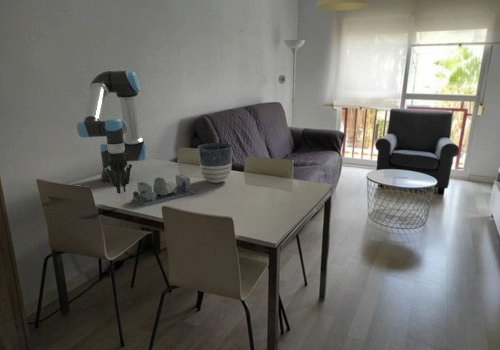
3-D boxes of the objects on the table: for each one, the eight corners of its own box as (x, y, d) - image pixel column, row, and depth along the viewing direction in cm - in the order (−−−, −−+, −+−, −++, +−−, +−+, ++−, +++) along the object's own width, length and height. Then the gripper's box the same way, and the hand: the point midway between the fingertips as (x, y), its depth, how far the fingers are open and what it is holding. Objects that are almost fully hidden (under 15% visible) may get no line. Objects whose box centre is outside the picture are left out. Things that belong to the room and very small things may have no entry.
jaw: (129, 198, 189) (128, 184, 187) (144, 194, 194) (142, 180, 191) (138, 203, 181) (136, 188, 179) (152, 199, 186) (151, 185, 184)
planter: (193, 184, 215) (191, 148, 209) (209, 175, 232) (208, 142, 226) (224, 188, 208) (222, 150, 202) (238, 178, 225) (237, 144, 219)
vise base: (132, 199, 192) (131, 182, 190) (180, 187, 209) (179, 172, 207) (144, 206, 182) (142, 189, 179) (193, 193, 199) (192, 177, 196)
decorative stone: (158, 198, 188) (169, 182, 187) (146, 187, 193) (156, 171, 193) (173, 203, 199) (184, 188, 198) (162, 192, 204) (172, 177, 204)
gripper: (105, 155, 168) (111, 204, 174) (133, 151, 176) (138, 198, 182) (99, 152, 173) (106, 200, 180) (126, 148, 181) (131, 194, 188)
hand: (122, 199), depth 181 cm, fingers closed
